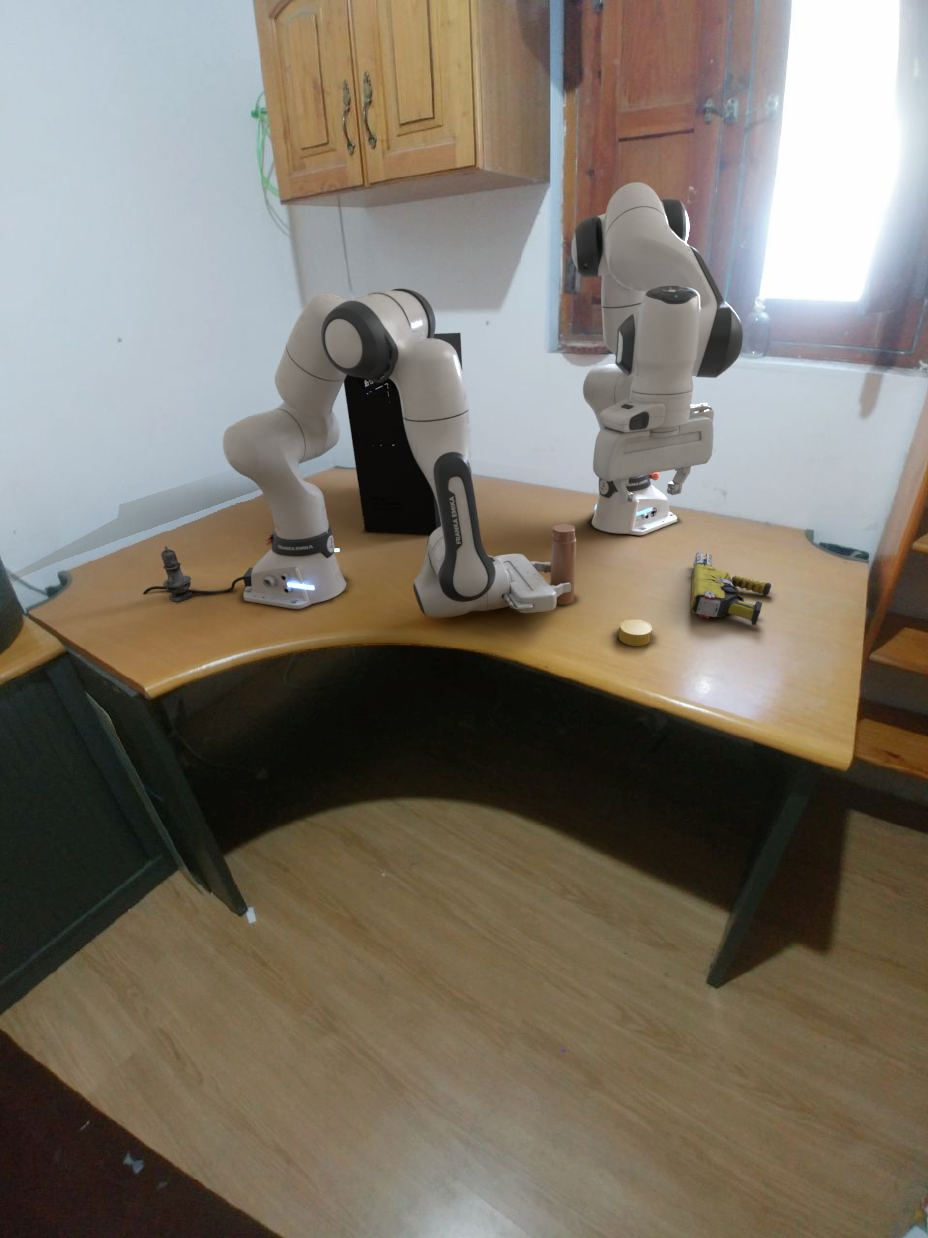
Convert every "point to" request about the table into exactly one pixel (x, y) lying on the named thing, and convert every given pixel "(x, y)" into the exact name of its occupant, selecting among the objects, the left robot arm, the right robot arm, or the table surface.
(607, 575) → the table surface
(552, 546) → the jar
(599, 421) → the right robot arm
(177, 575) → the grey chess piece
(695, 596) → the toy gun
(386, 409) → the black computer case
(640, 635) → the lid
